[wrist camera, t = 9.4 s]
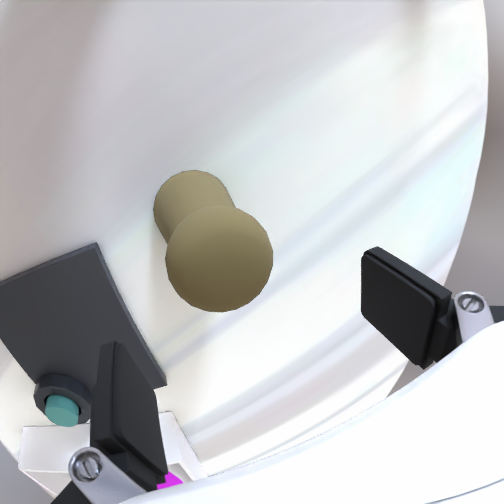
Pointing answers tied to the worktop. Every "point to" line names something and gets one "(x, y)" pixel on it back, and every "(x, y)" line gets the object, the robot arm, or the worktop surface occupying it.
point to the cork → (211, 243)
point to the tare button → (62, 410)
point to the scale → (69, 326)
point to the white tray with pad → (76, 437)
